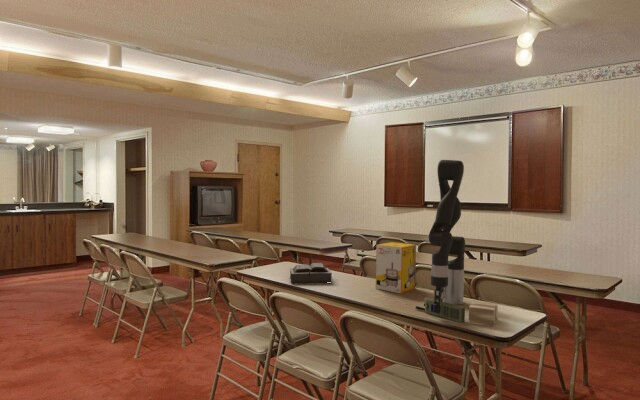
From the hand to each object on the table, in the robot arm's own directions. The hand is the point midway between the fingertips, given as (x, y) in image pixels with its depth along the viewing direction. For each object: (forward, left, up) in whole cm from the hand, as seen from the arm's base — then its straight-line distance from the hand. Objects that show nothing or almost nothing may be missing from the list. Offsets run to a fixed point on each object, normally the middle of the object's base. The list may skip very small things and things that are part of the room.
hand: (438, 311), depth 201 cm
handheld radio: (-1, 0, -3) cm, 3 cm away
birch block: (0, +19, -3) cm, 19 cm away
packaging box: (-45, -30, -3) cm, 54 cm away
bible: (-45, -82, -3) cm, 93 cm away
